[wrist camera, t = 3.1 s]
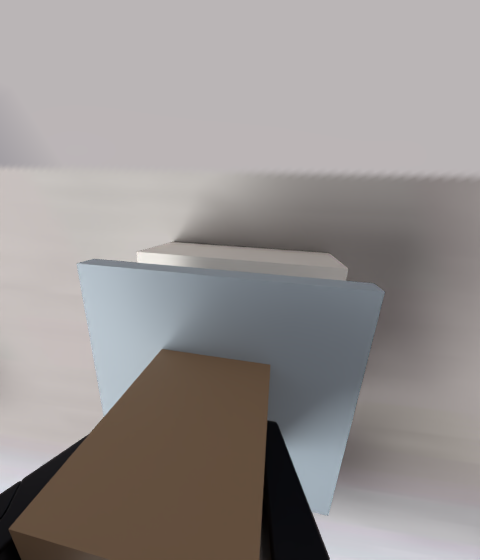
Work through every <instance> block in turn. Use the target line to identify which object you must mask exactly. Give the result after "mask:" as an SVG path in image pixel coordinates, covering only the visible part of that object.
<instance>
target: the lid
mask: <svg viewBox="0 0 480 560" xmlns="http://www.w3.org/2000/svg"><path fill="white" fill-rule="evenodd" d="M77 268H78V274H79V279H80V285H81V291H82V296H83V302H84V308H85V313H86V319H87V324H88V330H89V336H90V341H91V347H92V353H93V358H94V364H95V370H96V375H97V381H98V387H99V392H100V398H101V404H102V409H103V415H104V417H103V419H102V420H101V421H100V422H99V423H98V424H97V426H96V427H95V428H94V429H93V430H92V431H91V433H90V434H89V435H88V436H87V437H86V439H85V440H84V441H83V442H82V443H81V444H80V446H79V447H78V448H77V449H76V450H75V451H74V453H73V454H72V455H71V456H70V457H69V458H68V460H67V461H66V462H65V463H64V464H63V465H62V467H61V468H60V469H59V470H58V471H57V473H56V474H55V475H54V476H53V477H52V478H51V480H50V481H49V482H48V483H47V484H46V485H45V487H44V488H43V489H42V490H41V491H40V492H39V494H38V495H37V496H36V497H35V498H34V499H33V501H32V502H31V503H30V504H29V505H28V506H27V508H26V509H25V510H24V511H23V512H22V514H21V515H20V516H19V517H18V518H17V519H16V521H15V522H14V523H13V524H12V525H11V526H10V528H9V529H8V530H9V532H10V534H11V537H12V539H13V541H14V544H15V546H16V548H17V551H18V553H19V555H20V558H21V560H259V554H260V537H261V520H262V502H263V485H264V468H265V450H266V433H267V420H270V421H275V422H277V424H278V426H279V428H280V431H281V433H282V436H283V439H284V441H285V444H286V446H287V449H288V452H289V454H290V457H291V459H292V462H293V465H294V467H295V470H296V472H297V475H298V478H299V480H300V483H301V485H302V488H303V491H304V493H305V496H306V498H307V501H308V503H309V506H310V509H311V511H312V512H315V513H319V514H323V515H327V516H328V514H329V510H330V507H331V503H332V499H333V495H334V491H335V487H336V483H337V479H338V475H339V471H340V467H341V463H342V459H343V455H344V451H345V447H346V443H347V439H348V436H349V432H350V428H351V424H352V420H353V416H354V412H355V408H356V404H357V400H358V396H359V392H360V388H361V384H362V380H363V376H364V372H365V368H366V365H367V361H368V357H369V353H370V349H371V345H372V341H373V337H374V333H375V329H376V325H377V321H378V317H379V313H380V309H381V305H382V301H383V297H384V294H385V291H383V290H382V289H381V288H379V287H378V286H377V285H375V284H374V283H365V282H354V281H342V280H331V279H319V278H308V277H296V276H285V275H273V274H262V273H251V272H239V271H228V270H216V269H205V268H193V267H182V266H170V265H159V264H148V263H136V262H125V261H113V260H102V259H92V260H88V261H84V262H80V263H77Z"/></svg>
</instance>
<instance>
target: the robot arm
mask: <svg viewBox="0 0 480 560" xmlns="http://www.w3.org/2000/svg"><path fill="white" fill-rule="evenodd" d="M88 435H89V434H88ZM88 435H87V436H88ZM87 436H85V437H84V438H82V439H81V440H79V441H78V442H77V443H75V444H74V445H72V446H71V447H69V448H68V449H66V450H65V451H63V452H62V453H60V454H59V455H57V456H56V457H54V458H53V459H51V460H50V461H48V462H47V463H46V464H44V465H43V466H41V467H40V468H38V469H37V470H35V471H34V472H32V473H31V474H29V475H28V476H26V477H25V478H23V480H22V481H19V482H17V483H16V484H14V485H13V486H11V487H10V488H8V489H7V490H5V491H4V492H3V493H1V494H0V560H21V558H20V555H19V553H18V551H17V548H16V546H15V544H14V541H13V539H12V537H11V534H10V532H9V530H8V529H9V528H10V526H11V525H12V524H13V523H14V522H15V521H16V519H17V518H18V517H19V516H20V515H21V514H22V512H23V511H24V510H25V509H26V508H27V506H28V505H29V504H30V503H31V502H32V501H33V499H34V498H35V497H36V496H37V495H38V494H39V492H40V491H41V490H42V489H43V488H44V487H45V485H46V484H47V483H48V482H49V481H50V480H51V478H52V477H53V476H54V475H55V474H56V473H57V471H58V470H59V469H60V468H61V467H62V465H63V464H64V463H65V462H66V461H67V460H68V458H69V457H70V456H71V455H72V454H73V453H74V451H75V450H76V449H77V448H78V447H79V446H80V444H81V443H82V442H83V441H84V440H85V439H86V437H87ZM259 560H330V558H329V555H328V553H327V550H326V548H325V545H324V542H323V540H322V537H321V535H320V532H319V529H318V527H317V524H316V522H315V519H314V516H313V514H312V511H311V509H310V506H309V503H308V501H307V498H306V496H305V493H304V491H303V488H302V485H301V483H300V480H299V478H298V475H297V472H296V470H295V467H294V465H293V462H292V459H291V457H290V454H289V452H288V449H287V446H286V444H285V441H284V439H283V436H282V433H281V431H280V428H279V426H278V424H277V422H275V421H270V420H267V433H266V450H265V468H264V485H263V502H262V520H261V537H260V554H259Z"/></svg>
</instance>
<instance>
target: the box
mask: <svg viewBox="0 0 480 560" xmlns="http://www.w3.org/2000/svg"><path fill="white" fill-rule="evenodd" d="M136 253H137V263H148V264H159V265H170V266H182V267H193V268H205V269H216V270H228V271H239V272H251V273H262V274H273V275H285V276H296V277H308V278H319V279H331V280H342V281H346V279H347V274H348V268H347V267H346V266H345V265H343V264H342V263H341V262H340V261H338V260H337V259H336V258H335V257H333V256H332V255H331V254H330V253H323V252H309V251H295V250H281V249H267V248H253V247H239V246H225V245H210V244H196V243H182V242H170V243H166V244H163V245H159V246H156V247H152V248H148V249H145V250H141V251H137V252H136Z"/></svg>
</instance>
